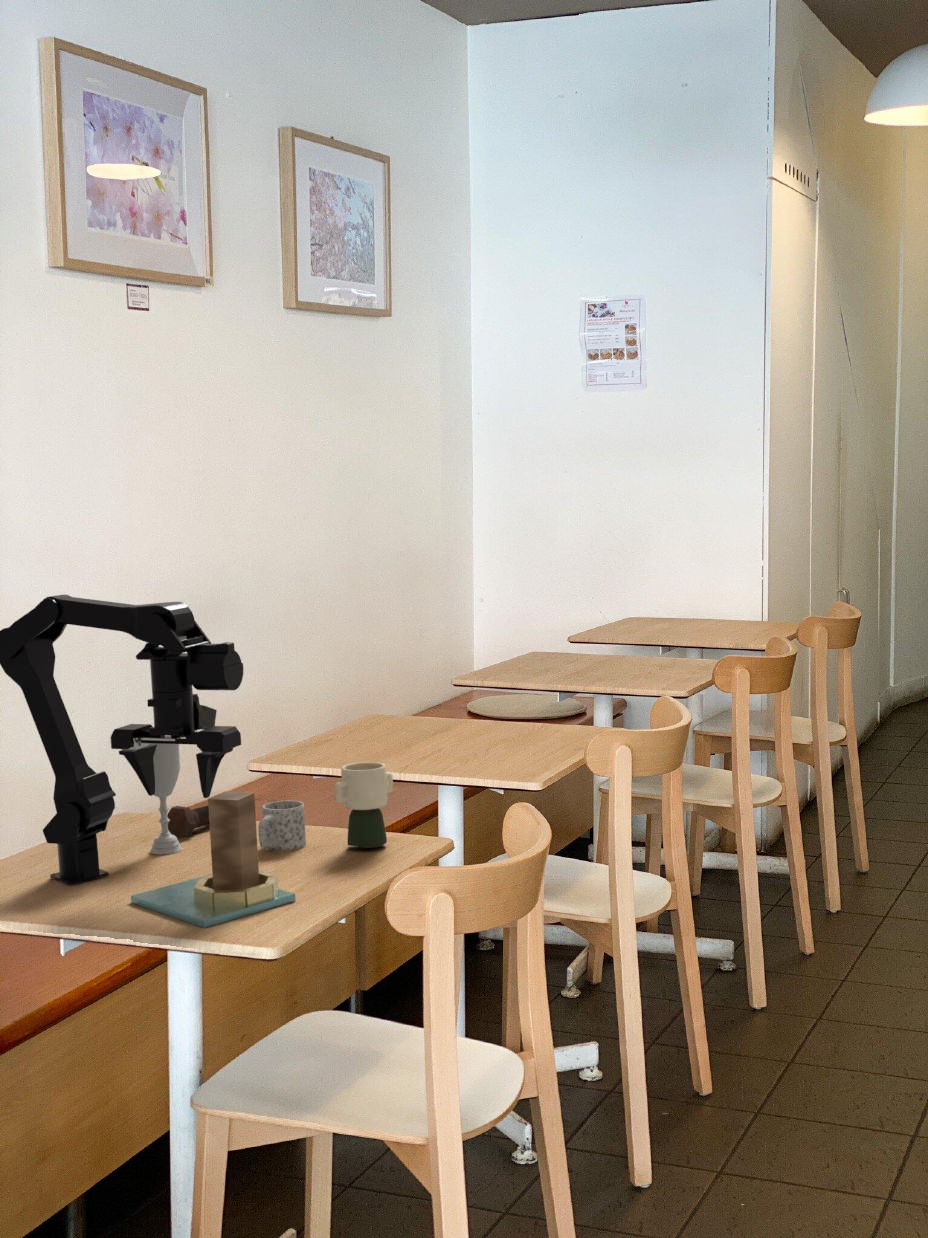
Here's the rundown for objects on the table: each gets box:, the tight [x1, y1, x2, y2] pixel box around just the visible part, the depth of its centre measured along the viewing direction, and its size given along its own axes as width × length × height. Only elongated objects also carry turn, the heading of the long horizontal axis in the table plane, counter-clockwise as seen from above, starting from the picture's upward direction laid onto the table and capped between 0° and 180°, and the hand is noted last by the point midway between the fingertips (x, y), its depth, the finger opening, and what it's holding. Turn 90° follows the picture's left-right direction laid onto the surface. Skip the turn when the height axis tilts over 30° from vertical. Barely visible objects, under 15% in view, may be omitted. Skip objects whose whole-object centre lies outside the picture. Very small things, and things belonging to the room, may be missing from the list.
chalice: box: [149, 735, 183, 856], centre depth 222 cm, size 7×7×18 cm
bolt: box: [167, 805, 210, 839], centre depth 237 cm, size 6×5×15 cm
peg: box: [207, 791, 260, 891], centre depth 192 cm, size 5×5×14 cm
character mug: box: [334, 761, 394, 850], centre depth 219 cm, size 11×7×13 cm, turn 130°
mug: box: [258, 800, 307, 852], centre depth 221 cm, size 10×7×7 cm
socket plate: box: [130, 869, 297, 929], centre depth 193 cm, size 18×15×3 cm
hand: (179, 796), depth 201 cm, fingers open, 9 cm apart
